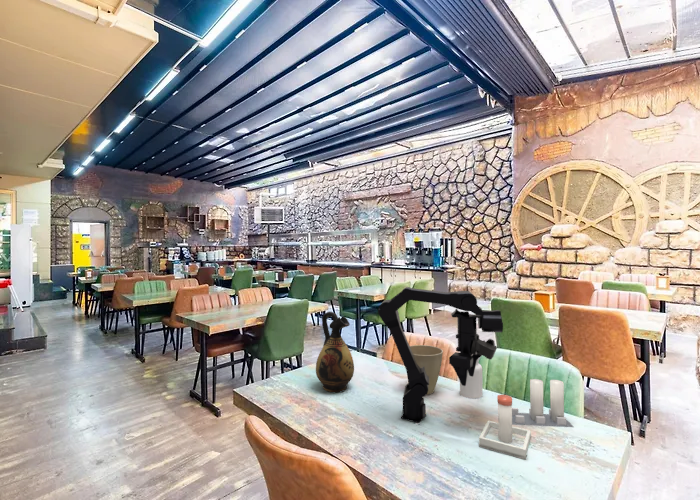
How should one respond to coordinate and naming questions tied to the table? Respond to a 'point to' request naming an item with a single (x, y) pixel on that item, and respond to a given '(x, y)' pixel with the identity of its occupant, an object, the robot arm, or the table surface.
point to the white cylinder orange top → (504, 418)
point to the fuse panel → (536, 406)
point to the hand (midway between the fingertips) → (467, 380)
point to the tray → (505, 447)
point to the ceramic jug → (334, 356)
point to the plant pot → (429, 362)
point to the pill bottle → (473, 384)
